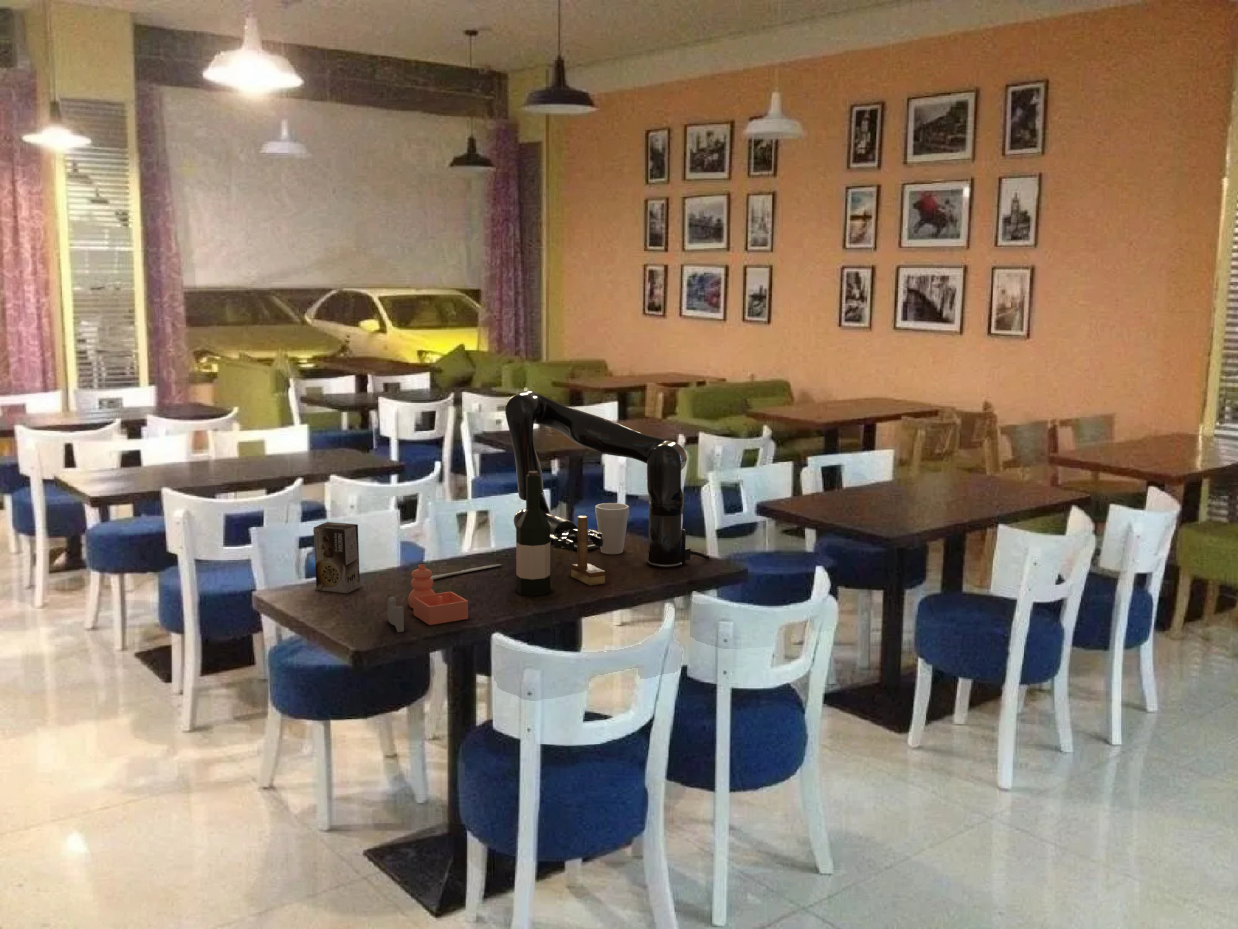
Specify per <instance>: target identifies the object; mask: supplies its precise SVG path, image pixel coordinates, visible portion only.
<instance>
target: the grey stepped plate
mask: <svg viewBox="0 0 1238 929" xmlns="http://www.w3.org/2000/svg"><path fill="white" fill-rule="evenodd" d="M396 604H397V600H396V597H395V596H389V597H387V612H386V617H387V620H388V622H389V624H390V625H392V626H394V627H395V630H396V632H397V633H403V632H405V614H404V611H405V610H404V609H405V608H404V605H396Z"/></svg>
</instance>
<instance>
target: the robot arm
mask: <svg viewBox="0 0 1238 929" xmlns="http://www.w3.org/2000/svg"><path fill="white" fill-rule="evenodd" d="M504 414H505V419H506V423H507V427H508V430H509V434H510V439H511V444H512V449H513V453H514V455H513V456H514V459H515V460H514V461H515V462H514V463H515V470H516V481H517V483H516V484H517V494H518V497H519V499H520V500H521V501H525V502H526V475H528V472H529V471H537V472H538V474H539V475H540V509H541V511H542V513H543V514H544V516H545V518H546V519H547V521H548V523H549V524H550V547H552V548H554V549H559V548H560V549H563V550H567V549H568V550H570V551H574V550H575V549H574V544H575V545H577V525H576V523H574V522H573V521H571V520H568V519H566V518H564V517H562V516H558V515H554V514H552V513H551V510H550V507H549V505H548V502H547V499H546V495H545V492H544V482H543V480H544V479H543V471H542V465H541V462H540V459H539V456H538V454H537V451H536V447H535V441H534V425H539V426H543V427H547V428H550V429H553V430H554V431H557V432H559V433H561V434H562V435H563V436H565V437H567V438H568V439H569V440H570V441H571V442H573V443H575V444H576V445H578V446H581V447H583V448H584V449H588V450H591V451H594V452H596V453H599V454H604V455H608V456H615V457H622V458H628V459H633V460H637V461H639V462H642V463H644V464H646V488H647V489H646V490H647V493H648V540H647V541H648V542H647V544H648V545H647V546H648V547H647V551H646V556H647V565H649V566H651V567H655V568H661V569H671V568H678V567H681V566H683V565H686V561H690V560H691V555H692V556H693V555H694V556H698V557H701V558H703V559H705V560H709V559H710V556H709V555H706V554H704V553H702V552H698V551H691V548H689V547H687V546H686V542H687V541H686V539H687V538H686V536H687V530H686V529H684V491H683V489H682V471H683V469H684V468H685V467H686V465H687V462H688V455H687V451H686V450H685V449H684V447H683V446H682V445H680V444H679V442H676V441H673V440H669V439H663V438H659V437H655V436H652V435H648V434H644V433H641V432H639V431H637V430H634V429H632V428H630V427H627V426H625V425H622V424H620V423H617V422H614V421H612V420H610V419H607V418H604V417H601V416H599V415H595V414H592V413H590V412H586V411H583V410H580V409H576V408H574V407H570V406H566V405H564V404H561V403H559V402H556V401H555V400H552V399H551V398H548V397H546V396H545V395H542V394H540V393H538V392H536V391H532V390H524V391H521V392H519V393H517V394H514V395H513V396H511V397H509V399H508V400H507V401H506V403H505V408H504ZM525 510H526V508H522V509H520V510H519V509H518V511H517V512H515V513H514V517H513V525H514V527H515V528H516V525H517V523H518V521H519V520H520V518H521V516H522V515H523V513H524V511H525ZM588 544H594V545H596V546H599V548H600V547H601V546H602V545H603V539H602V533H600V532H598V530H595V529H592V528H589V529H588V532H587V545H588Z"/></svg>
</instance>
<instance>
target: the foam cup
mask: <svg viewBox="0 0 1238 929" xmlns="http://www.w3.org/2000/svg"><path fill="white" fill-rule="evenodd" d="M594 507H595V509H594V510H595V513H594V515H595V518H596V524H597V531H598V532H600V533H602V539H603V545H602V546H601V547H599V549H600V552H601V553H602V554H606V555H618V554H622V553H623V552H624V547H625V541H626V533H627V527H628V519H629V515H630V506H629V505H628V504H625V503H620V502H603V503H599V504H596V505H595V506H594Z"/></svg>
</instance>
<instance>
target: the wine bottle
mask: <svg viewBox="0 0 1238 929" xmlns="http://www.w3.org/2000/svg"><path fill="white" fill-rule="evenodd" d="M525 509H526V510H525V511H524V513H523V515H522V516H521V518H520V520H519V521H518V523H517V525H516V527H515V539H516V540H515V562H516V563H515V567H516V569H515V572H516V573H515V574H516V577H515V578H516V579H515V580H516V581H515V582H516V590H515V591H516V592H517V593H518V594H519V595H523V596H530V597H536V596H545V595H547V594H548V593H551V546H550V524H549V523H548V521H547V519H546V518H545V516H544V514H543V513H542V511H541V509H540V475H539V474H538V472H537V471H529V472H528V475H526V501H525Z"/></svg>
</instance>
